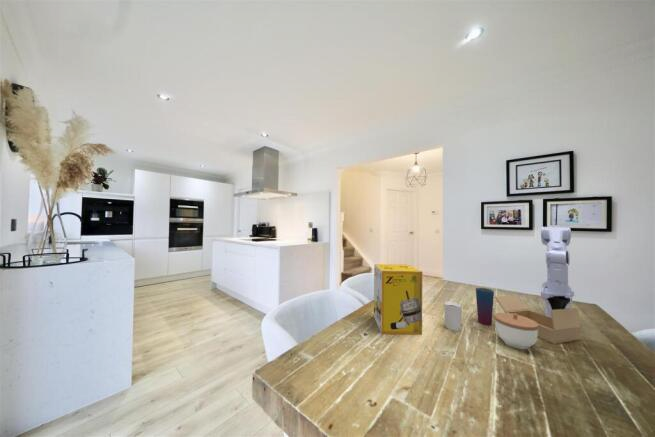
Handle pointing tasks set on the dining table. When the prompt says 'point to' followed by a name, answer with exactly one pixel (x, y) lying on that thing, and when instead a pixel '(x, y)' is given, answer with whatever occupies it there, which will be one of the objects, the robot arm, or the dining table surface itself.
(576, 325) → the flap
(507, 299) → the flap
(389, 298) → the packaging box
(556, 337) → the carton
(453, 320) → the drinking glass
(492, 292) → the cup
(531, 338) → the lidded bowl
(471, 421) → the dining table surface
